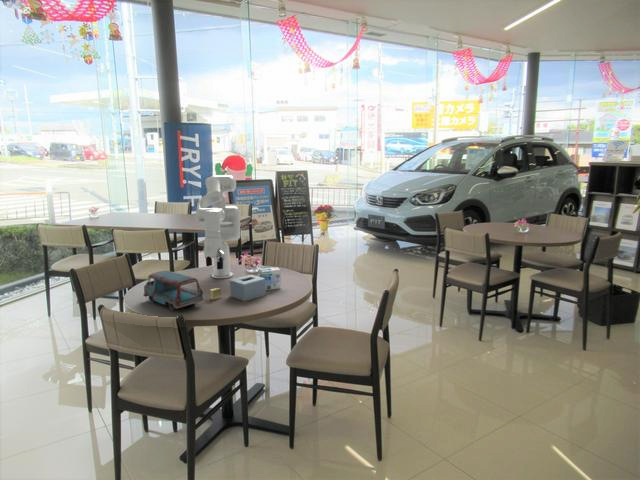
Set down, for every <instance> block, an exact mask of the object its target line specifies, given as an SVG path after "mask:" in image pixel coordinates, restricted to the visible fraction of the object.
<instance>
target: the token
mask: <svg viewBox="0 0 640 480" xmlns="http://www.w3.org/2000/svg"><path fill="white" fill-rule="evenodd" d="M209 297H210V298H209V299H210V300H212V301H215V300H217V299H218V300H219V299H221V298H222V289H221V288H220V287H215V288H211V289H209Z"/></svg>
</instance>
